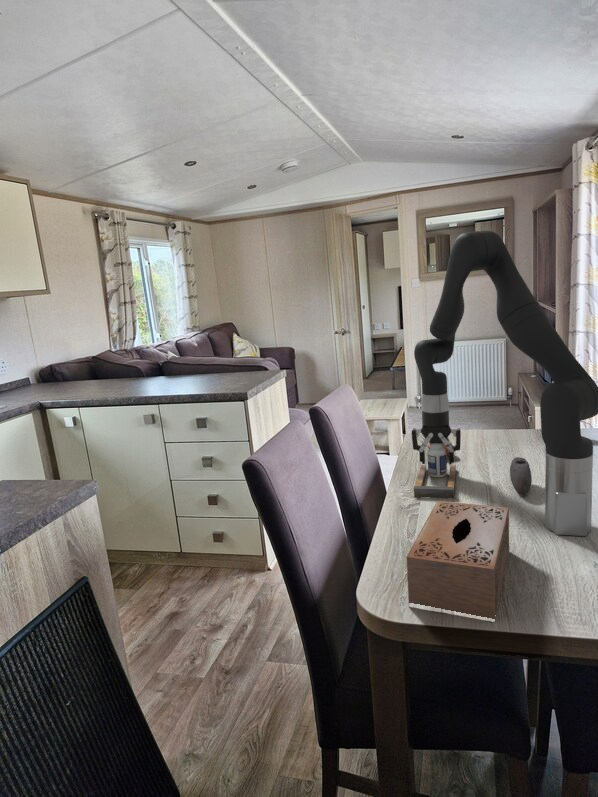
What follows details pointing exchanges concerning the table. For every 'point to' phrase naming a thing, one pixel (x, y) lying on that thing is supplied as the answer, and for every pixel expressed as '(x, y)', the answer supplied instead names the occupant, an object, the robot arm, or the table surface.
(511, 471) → the perforated stone tool
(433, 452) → the pill bottle
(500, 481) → the table surface
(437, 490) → the guide channel
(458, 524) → the tissue box cover
